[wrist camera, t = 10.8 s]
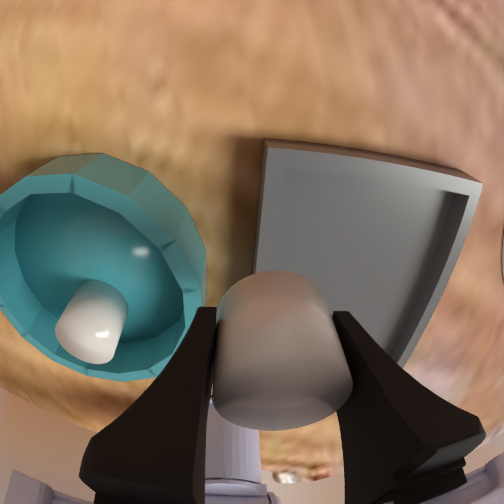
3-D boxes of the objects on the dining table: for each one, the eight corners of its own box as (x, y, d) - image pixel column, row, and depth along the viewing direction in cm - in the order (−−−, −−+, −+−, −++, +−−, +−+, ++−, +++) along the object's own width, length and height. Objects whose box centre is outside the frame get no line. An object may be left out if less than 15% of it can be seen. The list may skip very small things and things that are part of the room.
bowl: (208, 350, 25) (205, 389, 22) (43, 331, 24) (26, 362, 20) (208, 152, 17) (201, 172, 13) (-7, 163, 16) (-42, 183, 12)
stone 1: (133, 327, 22) (120, 367, 19) (83, 322, 22) (67, 359, 19) (122, 281, 20) (104, 321, 17) (69, 278, 20) (46, 314, 16)
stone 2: (314, 352, 14) (330, 427, 10) (216, 350, 13) (212, 430, 10) (338, 272, 11) (373, 353, 8) (218, 267, 11) (211, 354, 8)
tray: (390, 354, 27) (399, 374, 25) (243, 359, 26) (244, 382, 24) (462, 170, 18) (483, 183, 15) (263, 138, 17) (267, 147, 14)
